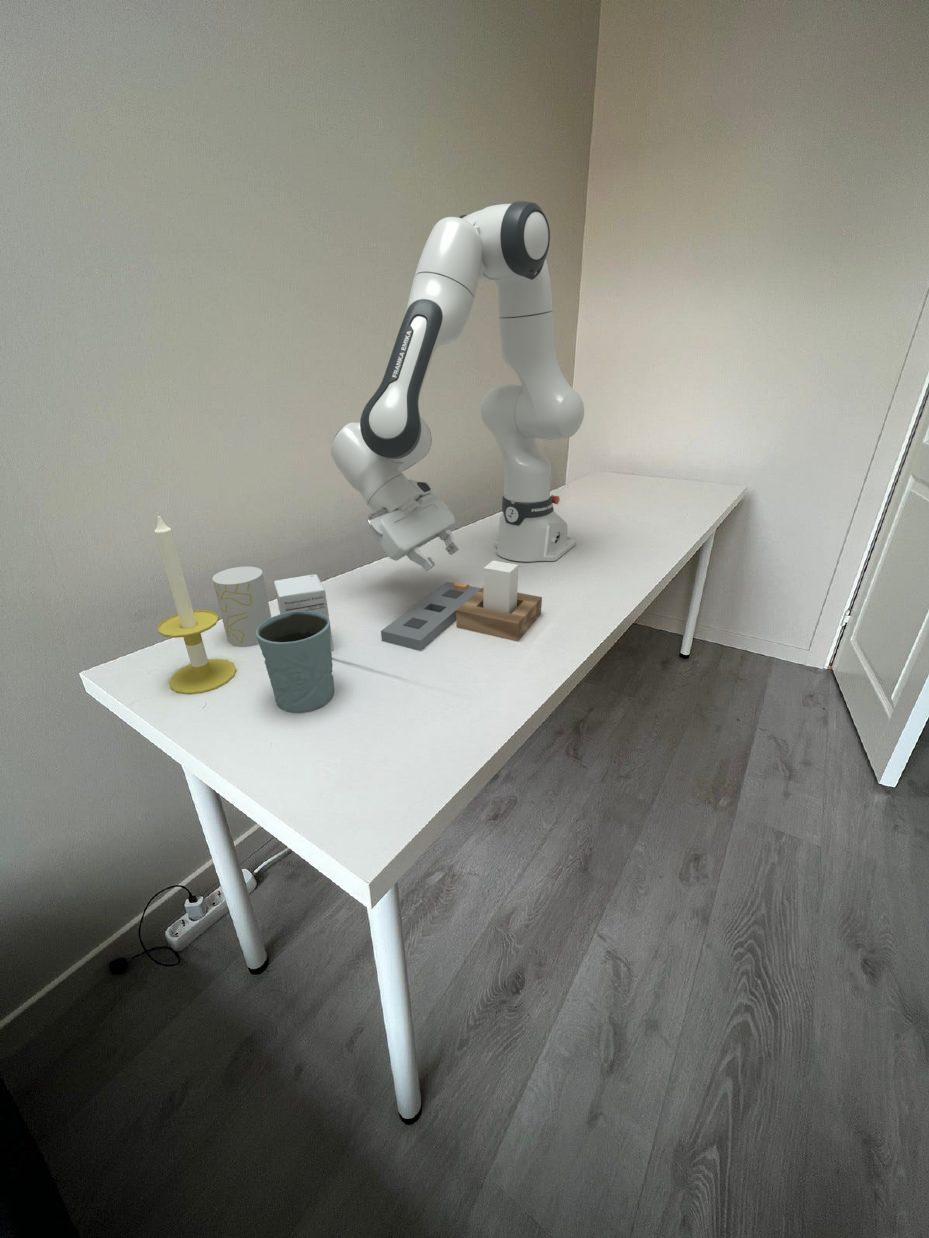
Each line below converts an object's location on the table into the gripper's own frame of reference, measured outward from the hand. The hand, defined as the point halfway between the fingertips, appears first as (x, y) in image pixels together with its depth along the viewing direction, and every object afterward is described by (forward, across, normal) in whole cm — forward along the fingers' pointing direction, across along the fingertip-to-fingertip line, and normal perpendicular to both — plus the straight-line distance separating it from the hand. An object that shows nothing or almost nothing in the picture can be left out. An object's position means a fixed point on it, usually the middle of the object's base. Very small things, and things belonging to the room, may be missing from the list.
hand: (443, 559), depth 100 cm
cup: (-12, -23, +28) cm, 38 cm away
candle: (-9, -37, +25) cm, 46 cm away
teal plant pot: (+4, -34, +12) cm, 36 cm away
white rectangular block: (+16, 0, -1) cm, 16 cm away
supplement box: (-2, -23, +18) cm, 29 cm away
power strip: (+8, -4, +8) cm, 12 cm away
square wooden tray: (+16, 0, 0) cm, 16 cm away
